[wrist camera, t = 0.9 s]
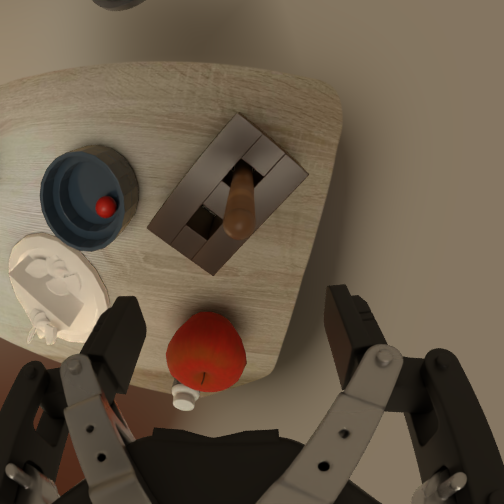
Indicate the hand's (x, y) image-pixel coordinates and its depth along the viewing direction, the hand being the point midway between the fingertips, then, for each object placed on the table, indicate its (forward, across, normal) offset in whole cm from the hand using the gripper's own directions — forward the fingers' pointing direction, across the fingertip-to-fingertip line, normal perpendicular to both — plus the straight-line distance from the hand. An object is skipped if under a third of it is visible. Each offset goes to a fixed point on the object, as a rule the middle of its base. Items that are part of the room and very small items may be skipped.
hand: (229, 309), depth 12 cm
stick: (+19, 0, 0) cm, 19 cm away
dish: (+30, +38, +19) cm, 52 cm away
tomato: (+28, +20, +3) cm, 34 cm away
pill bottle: (+30, +14, +38) cm, 51 cm away
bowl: (+30, +22, +1) cm, 37 cm away
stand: (+30, +2, +2) cm, 30 cm away
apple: (+30, +8, +26) cm, 41 cm away
